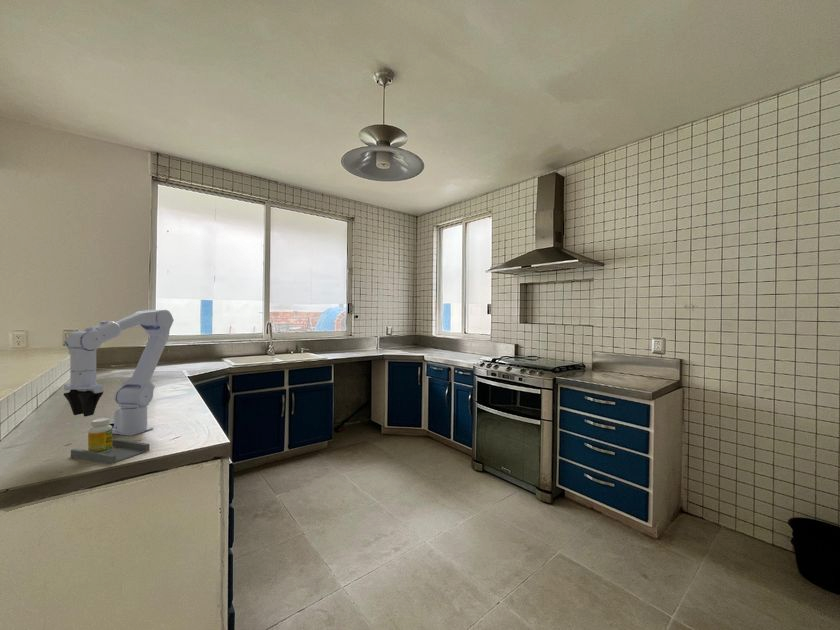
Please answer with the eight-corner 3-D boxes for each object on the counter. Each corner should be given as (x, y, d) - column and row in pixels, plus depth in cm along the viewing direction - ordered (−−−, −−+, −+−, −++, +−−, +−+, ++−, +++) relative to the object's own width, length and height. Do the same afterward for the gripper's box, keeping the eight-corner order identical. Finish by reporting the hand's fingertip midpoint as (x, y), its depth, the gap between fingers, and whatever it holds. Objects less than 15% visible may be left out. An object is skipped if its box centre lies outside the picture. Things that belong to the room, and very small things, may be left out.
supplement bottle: (92, 450, 105) (92, 418, 105) (115, 447, 108) (115, 416, 108) (84, 456, 100) (84, 423, 100) (108, 453, 103) (108, 421, 103)
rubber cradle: (70, 456, 100) (70, 449, 100) (110, 444, 110) (110, 438, 110) (111, 464, 95) (111, 456, 95) (149, 450, 105) (149, 443, 105)
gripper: (51, 371, 105) (51, 416, 105) (83, 373, 100) (83, 420, 100) (79, 368, 111) (80, 410, 111) (111, 369, 107) (111, 414, 107)
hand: (83, 414), depth 106 cm, fingers open, 4 cm apart
